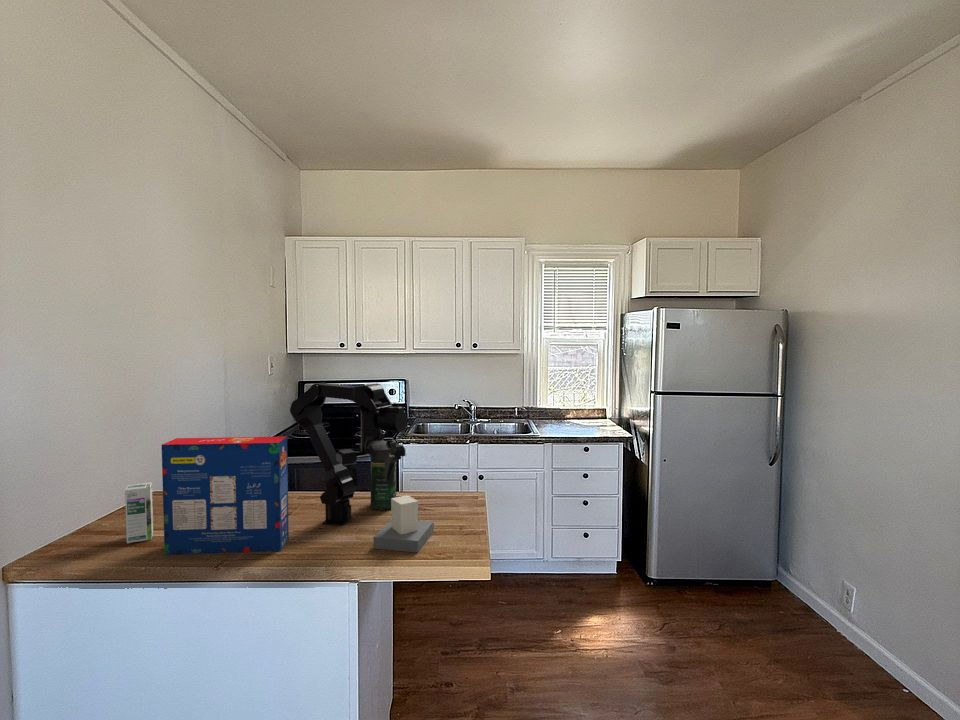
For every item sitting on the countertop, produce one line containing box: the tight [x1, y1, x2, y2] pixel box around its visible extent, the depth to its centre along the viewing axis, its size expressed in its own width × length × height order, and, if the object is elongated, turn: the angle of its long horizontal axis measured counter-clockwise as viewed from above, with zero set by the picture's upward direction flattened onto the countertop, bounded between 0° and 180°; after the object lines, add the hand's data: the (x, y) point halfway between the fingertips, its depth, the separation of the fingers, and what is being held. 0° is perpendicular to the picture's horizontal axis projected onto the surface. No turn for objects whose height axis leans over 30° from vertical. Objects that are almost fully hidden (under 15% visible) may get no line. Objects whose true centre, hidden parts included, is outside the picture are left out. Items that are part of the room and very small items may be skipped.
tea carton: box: [390, 495, 419, 534], centre depth 141 cm, size 6×5×8 cm
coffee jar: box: [370, 457, 397, 511], centre depth 169 cm, size 10×8×19 cm
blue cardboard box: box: [161, 435, 290, 556], centre depth 136 cm, size 28×8×28 cm, turn 96°
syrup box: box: [124, 481, 154, 544], centre depth 142 cm, size 6×6×14 cm
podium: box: [373, 519, 435, 554], centre depth 142 cm, size 12×14×3 cm
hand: (371, 483), depth 149 cm, fingers open, 9 cm apart
